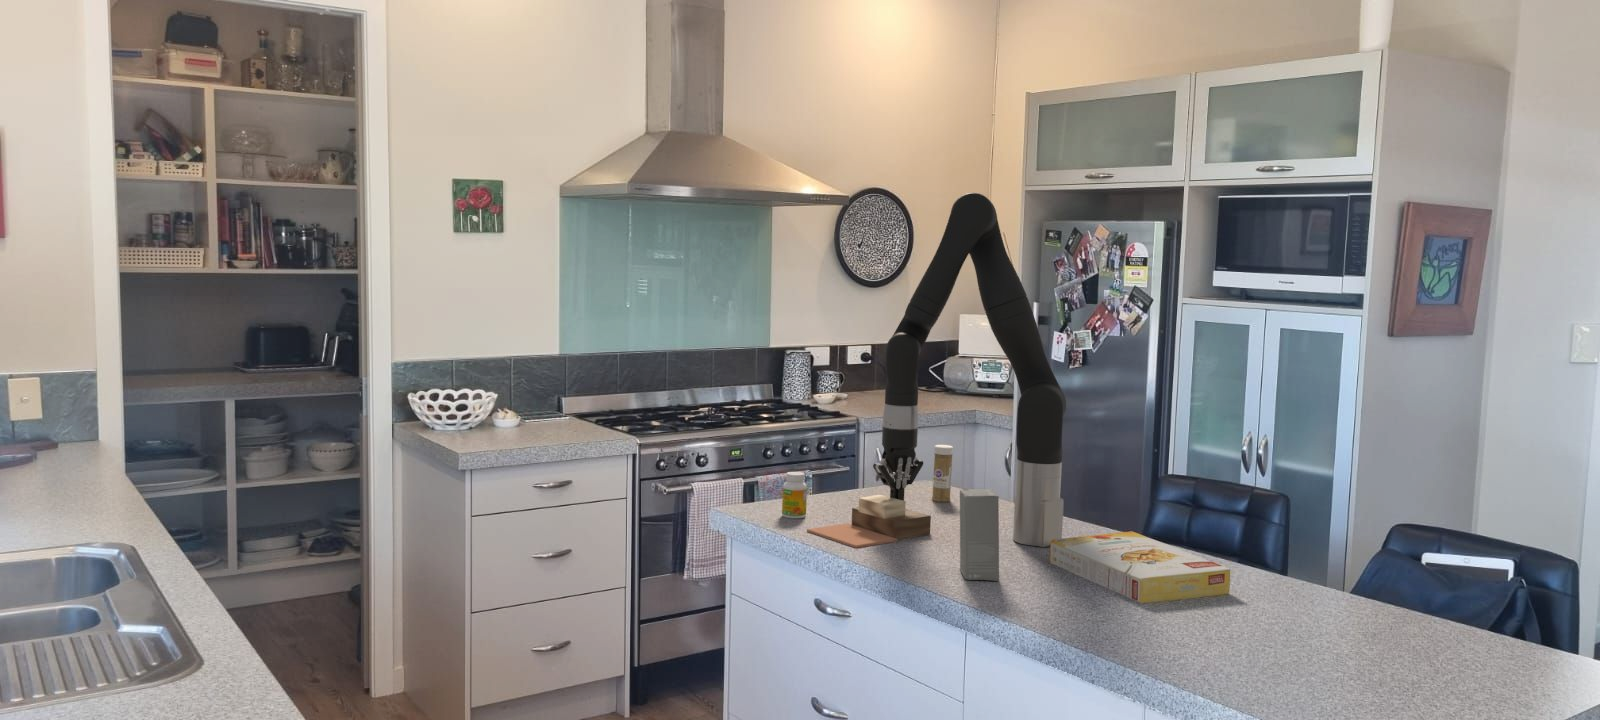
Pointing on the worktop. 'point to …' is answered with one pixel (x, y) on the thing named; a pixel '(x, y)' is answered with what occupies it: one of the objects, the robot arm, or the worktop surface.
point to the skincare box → (979, 534)
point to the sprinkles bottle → (942, 473)
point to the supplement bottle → (794, 496)
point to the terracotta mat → (851, 535)
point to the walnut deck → (894, 524)
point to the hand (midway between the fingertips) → (896, 504)
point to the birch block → (882, 506)
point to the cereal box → (1140, 567)
